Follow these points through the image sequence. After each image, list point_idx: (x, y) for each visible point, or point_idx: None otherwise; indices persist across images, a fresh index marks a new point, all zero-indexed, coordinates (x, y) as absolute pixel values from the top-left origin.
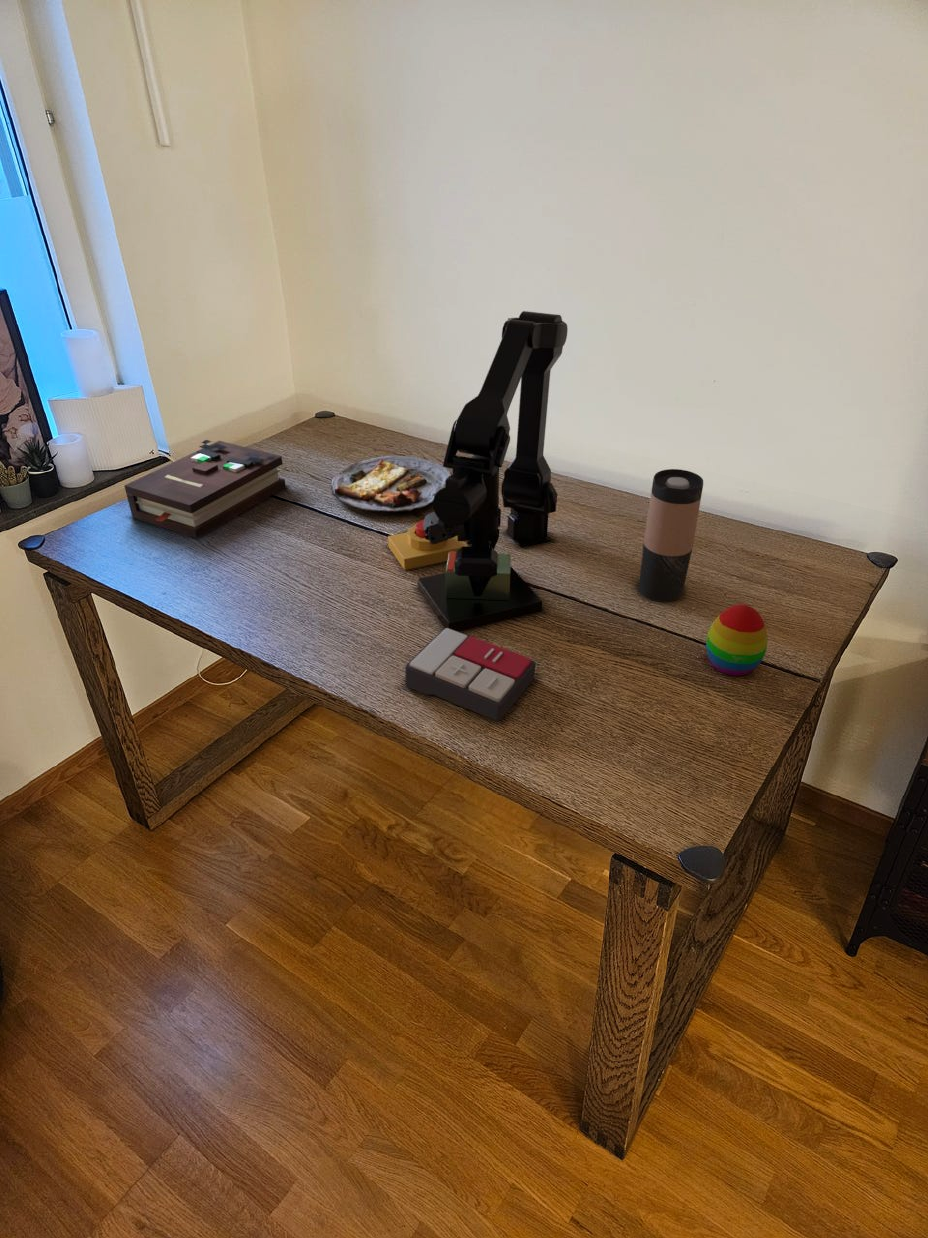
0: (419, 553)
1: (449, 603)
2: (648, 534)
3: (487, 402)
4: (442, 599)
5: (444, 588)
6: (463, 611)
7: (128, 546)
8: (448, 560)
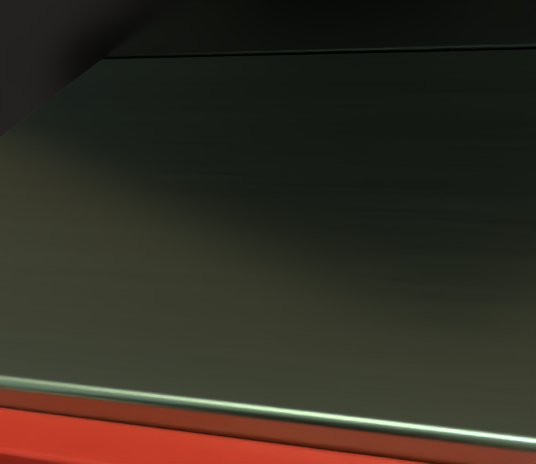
0: None
1: (24, 104)
2: None
3: None
4: (67, 14)
5: (320, 6)
6: None
7: None
8: (285, 435)
